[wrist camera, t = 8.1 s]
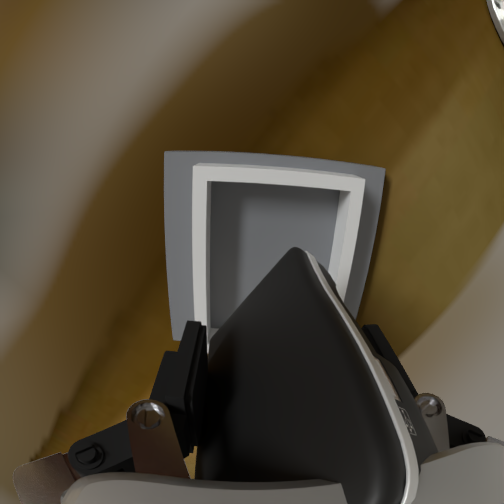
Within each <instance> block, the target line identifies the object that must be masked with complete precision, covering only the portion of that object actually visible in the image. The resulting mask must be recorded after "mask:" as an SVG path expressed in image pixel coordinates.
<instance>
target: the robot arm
mask: <svg viewBox="0 0 504 504" xmlns="http://www.w3.org/2000/svg"><path fill="white" fill-rule="evenodd" d="M487 5H488V9H489V12H490V15H491V18H492V20H493V23H494V25H495V28H496V30H497V32H498V34H499V36H500V38H501V40H502V42H503V44H504V0H487ZM361 329H362V331H363V332H364V334H365V336H366V337H367V339H368V340H369V342H370V343H371V345H372V347H373V348H374V350H375V351H376V353H377V354H379V355H380V356H382V357H383V358H385V359H386V360H388V361H389V362H391V363H392V364H393V365H394V366H395V367H396V368H397V370H398V371H399V373H400V375H401V376H402V378H403V380H404V382H405V383H406V385H407V387H408V389H409V390H410V392H411V394H412V396H413V398H414V400H415V402H416V404H417V406H418V408H419V410H420V412H421V414H422V416H423V418H424V420H425V422H426V424H427V427H428V429H429V431H430V433H431V436H432V438H433V440H434V443H435V445H436V447H437V450H438V453H435V454H432V455H430V456H429V457H428V458H427V459H426V460H425V461H424V462H423V463H422V464H421V472H420V474H419V482H418V488H417V493H416V497H415V499H414V500H413V501H412V503H411V504H504V442H503V441H501V440H498V439H495V438H492V437H490V436H488V437H487V438H486V437H485V435H484V433H483V431H482V430H481V429H480V428H478V427H476V426H474V425H472V424H469V423H467V422H464V421H462V420H459V419H457V418H455V417H452V416H450V415H448V414H446V409H445V405H444V403H443V401H442V400H441V399H440V398H439V397H437V396H435V395H433V394H429V393H422V394H419V395H418V393H417V391H416V389H415V388H414V386H413V384H412V382H411V381H410V379H409V377H408V375H407V373H406V372H405V370H404V368H403V366H402V365H401V363H400V361H399V360H398V358H397V356H396V354H395V353H394V351H393V349H392V348H391V346H390V344H389V343H388V341H387V339H386V338H385V336H384V334H383V333H382V331H381V330H380V328H379V326H378V325H376V324H374V325H364V326H363V327H362V328H361ZM207 379H208V356H207V327H206V325H202V323H201V321H189V320H187V322H186V325H185V329H184V332H183V335H182V339H181V342H180V345H179V349H178V352H174V351H166V352H165V353H164V356H163V359H162V362H161V365H160V368H159V371H158V374H157V377H156V380H155V383H154V386H153V389H152V392H151V395H150V398H149V399H145V400H141V401H138V402H136V403H134V404H132V405H131V406H130V407H129V409H128V411H127V415H126V419H127V420H125V421H123V422H121V423H118V424H116V425H114V426H112V427H109V428H107V429H105V430H103V431H100V432H98V433H96V434H93V435H91V436H88V437H86V438H84V439H81V440H79V441H77V442H75V443H74V444H73V445H72V446H71V447H70V450H69V452H68V453H65V454H62V453H61V452H60V453H57V454H54V455H51V456H48V457H45V458H42V459H39V460H36V461H33V462H30V463H27V464H24V465H21V466H19V467H18V468H16V470H15V471H14V474H13V482H14V485H15V488H16V491H17V493H18V496H19V499H20V501H21V504H347V501H346V498H345V495H344V491H343V488H342V485H341V483H337V482H332V481H327V480H322V479H311V480H300V481H283V482H227V481H210V480H197V479H191V478H190V475H189V473H188V470H187V467H186V464H185V461H184V458H186V457H187V456H189V453H193V450H194V446H199V444H200V435H201V427H202V418H203V410H204V402H205V394H206V387H207Z"/></svg>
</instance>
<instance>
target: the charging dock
mask: <svg viewBox="0 0 504 504" xmlns="http://www.w3.org/2000/svg"><path fill="white" fill-rule="evenodd" d="M384 177H385V169H384V168H381V167H376V166H369V165H363V164H356V163H349V162H342V161H334V160H326V159H318V158H308V157H298V156H287V155H275V154H261V153H244V152H218V151H166V152H164V213H165V214H164V216H165V244H166V264H167V279H168V292H169V304H170V315H171V325H172V334H173V340H178V341H181V339H182V335H183V332H184V329H185V325H186V322H187V320H189V321H201V323H202V325H206V327H207V353H208V352H209V341H210V339H211V337H212V336H213V335H214V334H215V333H216V332H217V330H218V329H219V328H220V327H221V326H222V325H223V324H224V322H225V321H226V320H227V319H228V318H229V317H230V316H231V315H232V313H233V312H234V311H235V310H236V309H237V308H238V307H239V305H240V304H241V303H242V302H243V301H244V300H245V299H246V297H247V296H248V295H249V294H250V293H251V292H252V291H253V290H254V289H255V287H256V286H257V285H258V284H259V283H260V282H261V281H262V280H263V278H264V277H265V276H266V275H267V274H268V273H269V272H270V270H271V269H272V268H273V267H274V266H275V265H276V264H277V263H278V261H279V260H280V259H281V258H282V257H283V256H284V255H285V254H286V252H287V251H288V250H289V249H290V248H292V247H298V248H300V249H302V250H303V251H308V252H309V253H310V254H311V255H313V256H314V257H315V259H316V261H317V262H319V263H320V264H321V265H323V266H324V268H325V269H326V270H327V271H328V273H329V274H330V275H331V277H332V279H333V280H334V282H335V283H336V289H337V292H338V294H339V296H340V297H341V299H342V301H343V303H344V304H345V306H346V307H347V309H348V310H349V311H350V313H351V314H352V316H353V317H354V319H355V320H356V317H357V313H358V309H359V305H360V302H361V298H362V294H363V290H364V286H365V281H366V277H367V273H368V268H369V264H370V259H371V254H372V249H373V244H374V239H375V234H376V229H377V223H378V217H379V211H380V205H381V198H382V192H383V185H384Z"/></svg>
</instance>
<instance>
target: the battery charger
mask: <svg viewBox="0 0 504 504" xmlns="http://www.w3.org/2000/svg"><path fill="white" fill-rule="evenodd" d="M435 453H438V450H437V447H436V445H435V443H434V440H433V438H432V436H431V433H430V431H429V429H428V427H427V424H426V422H425V420H424V418H423V416H422V414H421V412H420V410H419V408H418V406H417V404H416V402H415V400H414V398H413V396H412V394H411V392H410V390H409V389H408V387H407V385H406V383H405V382H404V380H403V378H402V376H401V375H400V373H399V371H398V370H397V368H396V367H395V366H394V365H393V364H392V363H391V362H389V361H388V360H386V359H385V358H383V357H382V356H380V355H379V354H377V353H376V351H375V350H374V348H373V347H372V345H371V343H370V342H369V340H368V339H367V337H366V336H365V334H364V332H363V331H362V329H361V328H360V326H359V325H358V323H357V322H356V320H355V319H354V317H353V316H352V314H351V313H350V311H349V310H348V309H347V307H346V306H345V304H344V303H343V301H342V299H341V297H340V296H339V294H338V292H337V289H336V283H335V282H334V280H333V279H332V277H331V275H330V274H329V273H328V271H327V270H326V269H325V268H324V266H323V265H321V264H320V263H319V262H317V261H316V259H315V257H314V256H313V255H311V254H310V253H309V252H308V251H303V250H302V249H300V248H298V247H292V248H290V249H289V250H288V251H287V252H286V254H285V255H284V256H283V257H282V258H281V259H280V260H279V261H278V263H277V264H276V265H275V266H274V267H273V268H272V269H271V270H270V272H269V273H268V274H267V275H266V276H265V277H264V278H263V280H262V281H261V282H260V283H259V284H258V285H257V286H256V287H255V289H254V290H253V291H252V292H251V293H250V294H249V295H248V296H247V297H246V299H245V300H244V301H243V302H242V303H241V304H240V305H239V307H238V308H237V309H236V310H235V311H234V312H233V313H232V315H231V316H230V317H229V318H228V319H227V320H226V321H225V322H224V324H223V325H222V326H221V327H220V328H219V329H218V330H217V332H216V333H215V334H214V335H213V336H212V337H211V339H210V341H209V352H208V379H207V387H206V394H205V402H204V410H203V418H202V427H201V435H200V444H199V446H197V455H196V466H195V479H197V480H210V481H227V482H283V481H300V480H311V479H322V480H327V481H332V482H337V483H341V485H342V488H343V491H344V495H345V498H346V501H347V504H411V503H412V501H413V500H414V499H415V497H416V493H417V488H418V482H419V474H420V472H421V464H422V463H423V462H424V461H425V460H426V459H427V458H428V457H429V456H430V455H432V454H435Z"/></svg>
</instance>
